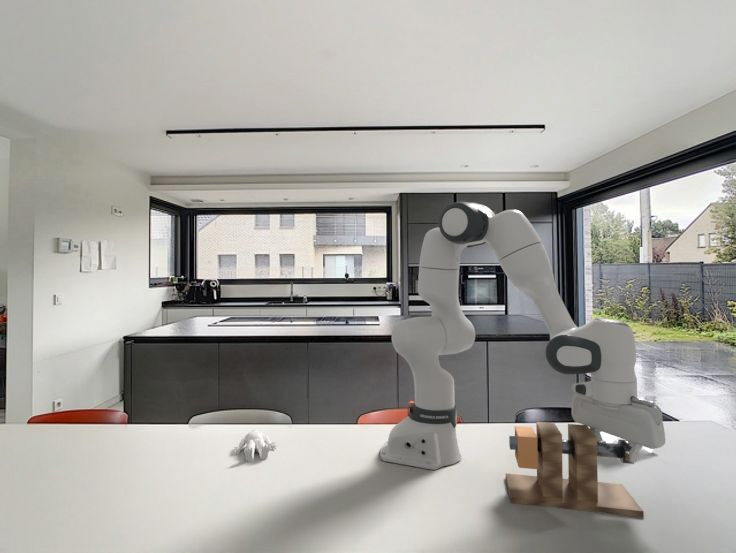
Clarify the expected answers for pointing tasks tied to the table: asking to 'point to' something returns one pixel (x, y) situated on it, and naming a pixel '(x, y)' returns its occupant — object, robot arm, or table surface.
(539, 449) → the shaft
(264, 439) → the toy creature
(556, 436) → the threaded rod press
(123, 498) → the table surface
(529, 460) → the block
